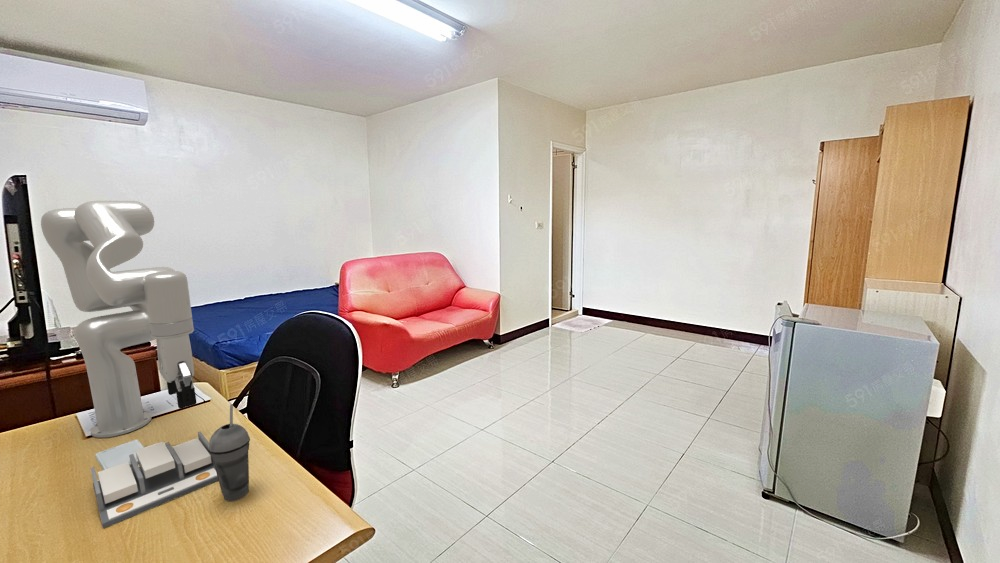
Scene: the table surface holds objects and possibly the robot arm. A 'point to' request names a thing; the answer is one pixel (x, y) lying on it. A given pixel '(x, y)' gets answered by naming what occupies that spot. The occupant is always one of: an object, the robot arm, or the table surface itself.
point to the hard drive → (118, 454)
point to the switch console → (154, 488)
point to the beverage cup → (231, 459)
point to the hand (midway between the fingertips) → (182, 399)
